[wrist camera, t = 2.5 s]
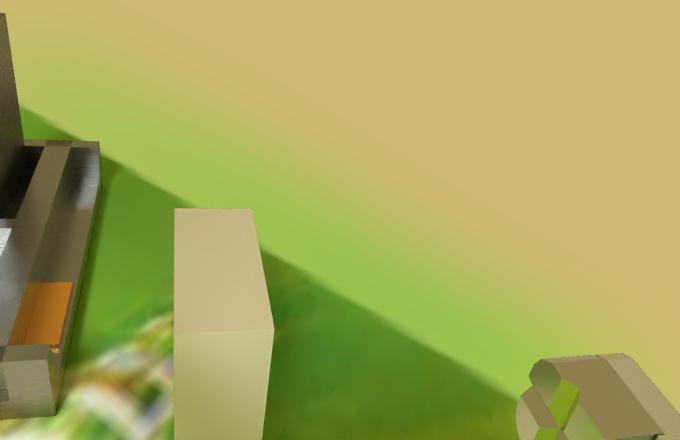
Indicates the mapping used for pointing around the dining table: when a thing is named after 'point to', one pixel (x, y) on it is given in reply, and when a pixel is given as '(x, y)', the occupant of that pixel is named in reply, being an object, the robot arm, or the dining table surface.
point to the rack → (39, 251)
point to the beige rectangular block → (220, 326)
